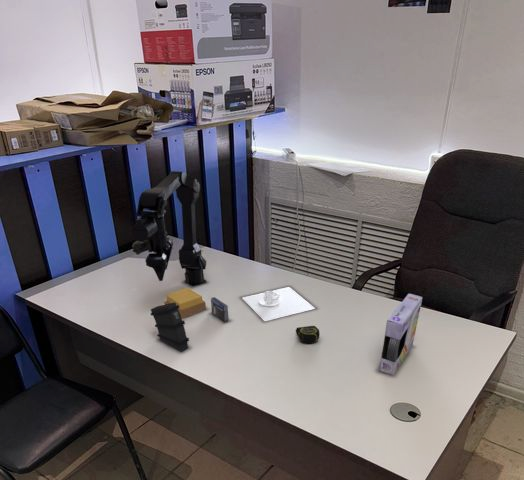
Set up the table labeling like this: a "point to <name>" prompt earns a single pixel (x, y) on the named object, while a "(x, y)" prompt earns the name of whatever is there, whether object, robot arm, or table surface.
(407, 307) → the cake pan box
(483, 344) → the table surface
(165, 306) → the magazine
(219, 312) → the mini dv tape
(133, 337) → the table surface
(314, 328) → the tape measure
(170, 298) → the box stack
